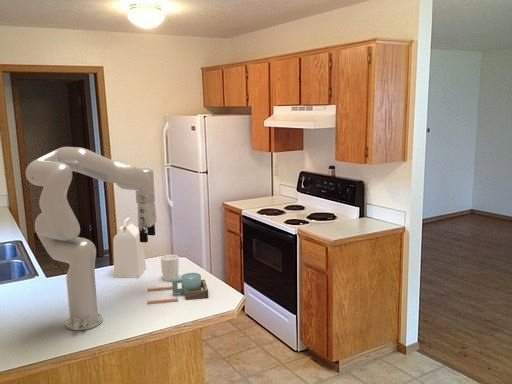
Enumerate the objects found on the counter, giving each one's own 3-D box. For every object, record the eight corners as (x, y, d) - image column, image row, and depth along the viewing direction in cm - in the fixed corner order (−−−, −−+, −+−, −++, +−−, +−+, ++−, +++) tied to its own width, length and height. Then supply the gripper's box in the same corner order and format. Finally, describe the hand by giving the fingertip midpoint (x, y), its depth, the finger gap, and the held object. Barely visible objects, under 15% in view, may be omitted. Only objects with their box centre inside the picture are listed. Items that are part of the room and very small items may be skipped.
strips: (178, 301, 186) (178, 299, 185) (147, 304, 183) (147, 301, 183) (176, 288, 199) (176, 285, 199) (147, 290, 196) (147, 288, 196)
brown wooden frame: (208, 297, 189) (208, 290, 188) (185, 299, 187) (185, 292, 186) (205, 286, 201) (204, 279, 200) (183, 288, 199) (183, 281, 198)
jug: (202, 296, 191) (201, 278, 189) (173, 298, 188) (172, 281, 187) (200, 288, 198) (199, 272, 197) (172, 291, 196) (171, 274, 194)
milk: (139, 278, 211) (136, 222, 206) (114, 278, 211) (110, 222, 206) (145, 268, 223) (143, 216, 218) (122, 268, 223) (118, 216, 218)
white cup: (181, 275, 214) (180, 254, 212) (176, 282, 206) (175, 260, 204) (164, 275, 214) (163, 254, 212) (159, 281, 207) (158, 260, 205)
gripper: (147, 203, 182) (149, 245, 185) (160, 194, 199) (162, 233, 202) (128, 203, 183) (131, 244, 186) (143, 194, 200) (145, 232, 203)
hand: (147, 238), depth 194 cm, fingers open, 9 cm apart
